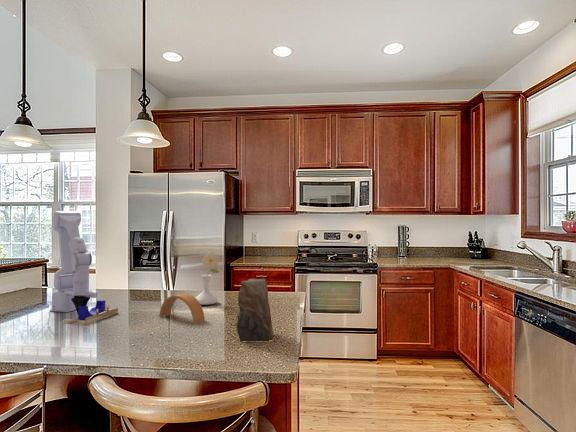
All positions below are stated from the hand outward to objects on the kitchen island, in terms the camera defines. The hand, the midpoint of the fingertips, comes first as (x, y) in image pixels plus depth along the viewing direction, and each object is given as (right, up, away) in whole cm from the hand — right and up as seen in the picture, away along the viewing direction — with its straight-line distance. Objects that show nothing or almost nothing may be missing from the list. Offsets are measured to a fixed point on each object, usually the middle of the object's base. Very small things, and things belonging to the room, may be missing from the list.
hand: (80, 314), depth 151 cm
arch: (+42, -2, -1) cm, 42 cm away
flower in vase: (+47, -2, +25) cm, 53 cm away
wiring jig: (+6, -1, -1) cm, 6 cm away
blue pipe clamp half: (+5, -2, -1) cm, 5 cm away
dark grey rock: (+75, -2, -24) cm, 79 cm away
